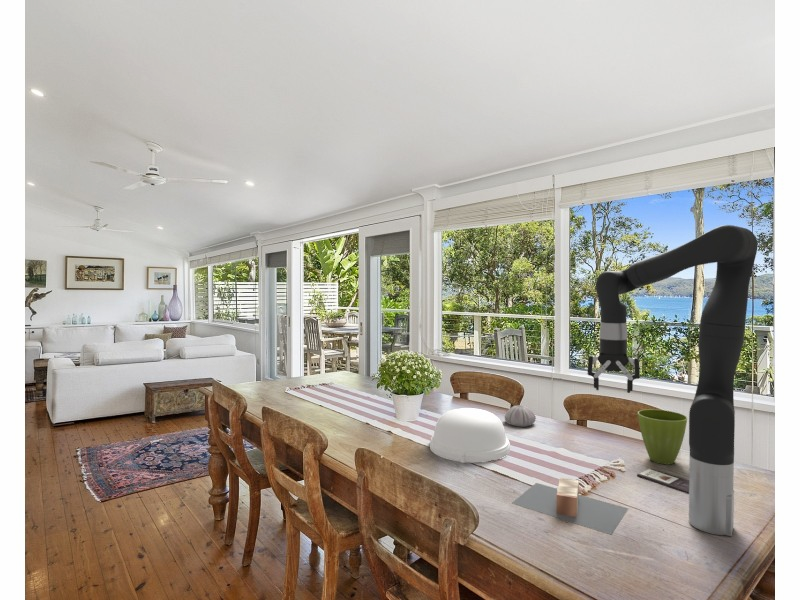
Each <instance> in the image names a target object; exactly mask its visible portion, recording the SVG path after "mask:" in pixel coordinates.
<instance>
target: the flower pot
mask: <svg viewBox="0 0 800 600" xmlns="http://www.w3.org/2000/svg"><path fill="white" fill-rule="evenodd" d="M637 419H638V423H639V429H640V433H641V438H642V440H643V441H642V442H643V444H644V447H645V449H646V452H647V455H648V458H649V460H650V461H652V462H653V463H657V464H660V465H661V464H662V465H673V464H674V463H675V462H676V459H677V458H678V455H679V453H680V450H681V447H682V444H683V441H684V437H685V433H686V428H687V422H688V417H687V416H686V415H684V414H683V413H680V412H675V411H672V410H665V409H653V408H652V409H641V410H639V411H637Z"/></svg>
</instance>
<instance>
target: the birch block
mask: <svg viewBox="0 0 800 600" xmlns="http://www.w3.org/2000/svg"><path fill="white" fill-rule="evenodd" d="M579 487H580V483H579V480H578V479H572V478H565V477H559V482H558V487H557V489H558V490H557V512H556V513H557V514H562V515H568V516H573V517H577V509H578V499H579V495H580V494H579V490H580V489H579Z"/></svg>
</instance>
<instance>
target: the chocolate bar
mask: <svg viewBox="0 0 800 600" xmlns="http://www.w3.org/2000/svg"><path fill="white" fill-rule="evenodd" d="M636 477H638V478H640V479H644V480H646V481H650V482H653V483H656V484H658V485H662V486H664V487H667V488H671V489H672V490H673V489H674V490H677V491H679V492H683V493H685V494H688V495H689V479H688V478H684V477H681V476H677V475H674V474H671V473H668V472H665V471H662V470H659V469H655V468H651V467H650V468H649V469H646V470H644V471H643V472H640V473H637V475H636Z"/></svg>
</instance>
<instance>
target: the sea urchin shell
mask: <svg viewBox="0 0 800 600" xmlns="http://www.w3.org/2000/svg"><path fill="white" fill-rule="evenodd" d="M536 419H537V417H536V415H535V413H534V412H533V411H532V410H531V408H529V407H527V406H525V405H522V404H521V405H520V404H519V405H513V406H511V407H510V408H509V409H508V410H507V411H506V412H505V414H504V421H505V422H506V423H507V424H509V425H512V426H514V427H523V428H524V427H530V426H532V425H533V424H535V422H536V421H537V420H536Z"/></svg>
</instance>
